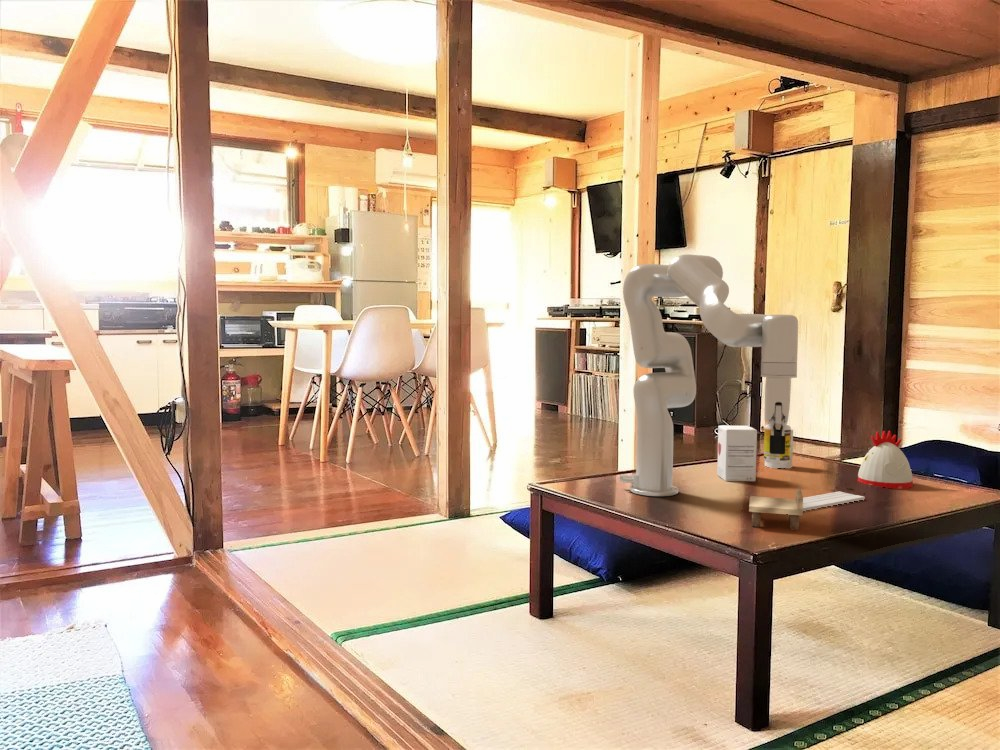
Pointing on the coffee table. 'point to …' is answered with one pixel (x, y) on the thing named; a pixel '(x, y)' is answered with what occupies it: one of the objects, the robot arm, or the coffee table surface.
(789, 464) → the cup
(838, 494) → the baseboard
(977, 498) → the coffee table surface
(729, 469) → the supplement box
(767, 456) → the supplement bottle
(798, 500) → the shelf
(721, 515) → the coffee table surface
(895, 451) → the kitchen timer
